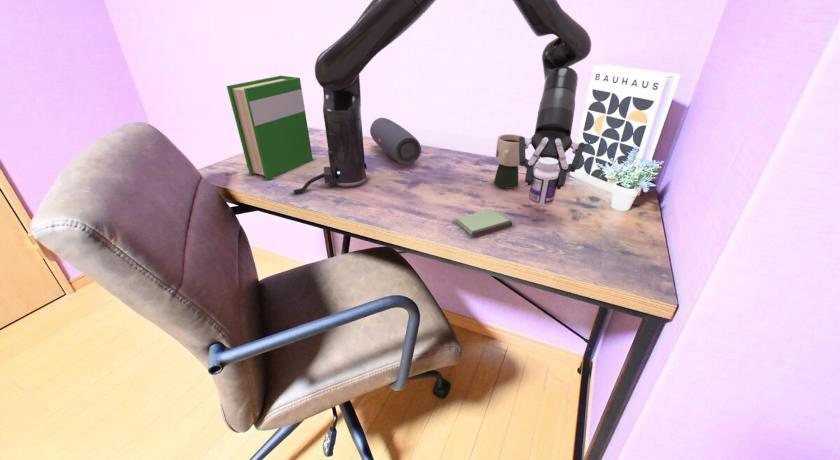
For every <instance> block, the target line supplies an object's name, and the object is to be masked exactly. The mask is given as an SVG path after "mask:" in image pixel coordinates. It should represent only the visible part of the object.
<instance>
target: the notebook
mask: <svg viewBox="0 0 840 460" xmlns="http://www.w3.org/2000/svg"><path fill="white" fill-rule="evenodd" d="M455 222H456V224H458V225H459V226H460V227H461V228H462V229H463V230H464V231H465V232H467V234H469V235H470V236H471V237H472V238H476V237H477V238H478V237H481V236H484V235H487V234H491V233H494V232H498V231H501V230H505V229H508V228H511V227H512V226H513V221H512V220H510V219H509V218H508V217H506V216H504V215H503V214H502V213H501V212H499V211H497V210H496V209H495V208H489V209H486V210H482V211H478V212H474V213H470V214H466V215H462V216H458V217H456V221H455Z"/></svg>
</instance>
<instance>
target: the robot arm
mask: <svg viewBox="0 0 840 460" xmlns="http://www.w3.org/2000/svg"><path fill="white" fill-rule="evenodd" d="M436 1H437V0H372V1H370V3H368V5H367V7H366V8H365V9H364V10H363V12H362V13H361V15H360V16H359V17H358V19H357V20H356V21H355V23H354V24H353V25H352V26H351V27H350V28H349V29H348V30H347V31H346V32H345V33H344V34H343V35H342V36H341V37H339V39H337V40H336V41H335V42H334V43H332V44H331V45H330V46H329V47H327V48H326V49H324V50H323V51H322V52H320V53H319V55H318V56H317V58H316V60H315V63H314V76H315V79H316V81H317V83H318V84H319V86H320V87H322V91H323V104H322V115H323V121H324V127H325V128H324V129H325V136H326V143H327V154H328V161H329V166H324V167H323V173H321V174H319V175H317V176H314V177H312V178H311V179H309V180H308V181H306V182H305V183H304V185H303V186H302V187H301V188H298V189H293V193H294V195H295V194H301V193H304V192H305V191H306V190H307V189H308V188H309V186H310V185H312V184H313V183H314V182H316V181H319V180H321V179H323V178H324V184H331V185H332V186H333V187H341V188H352V187H357V186H360V185H363V184H364V183H366V181H367V168H368V167H367V163H366V161H365V160H366V158H365V147H364V136H363V135H364V134H363V123H362V107H361V106H362V96H361V80H360V79H361V78H360V74H361V73H362V72H363V70H364V69H365V68H366V67H367V65H368V64H369V63H370V62H371V61H372V60H373V59H374V58H375V57H376V56H377V55H378V54H379V53H380V52H382V50H384V49H385V48H387V47H388V46H389V45H391V44H392V43H393V42H394V41H396V40H397V39H399V37H401V36H402V35H403V34H404V33H405V32H406V31H407V30H409V29H410V28H411V27H412V26H413V25H414V24H415V23H416V22H417V21H418V20H419V19H420V18H421V17H423V15H424V14H425V13H426V12H428V10H430V8H431V6H433V4H435V2H436ZM512 2H513V3H514V5H515V7H516V8H517V10H518V11H519V13H520V15H521V16H522V17H523V19H524V20H525V22H526V23H527V25H528V27H529V28H530V30H531V31H532V33H533V35H535V36H536V37H541V38H542V37H545V36H549V35H553V36H556V38H554V39H553V40H551V41H549V42H548V43H547V44H546V45H545V47H544V49H543V51H542V54H541V63H542V69H543V76H544V78H543V79H544V84H543V89H542V96H541V99H540V102H539V107H538V110H537V117H536V124H535V127H534V128H535V129H534V134H533V135H532V137H529V138H526V137H525V136H522V137H520V138H519V164H520V165H519V166H520V167H524V168H525V169H526V171H525V177H524V183H526V184H527V186H530V187H531V181H532V175H533V171H534V169H535V166H536V164H538V161H539V159H540V158H543V157H549V158H554V159H556V160H558V168H559V171H558V172H559V178H558V183H557V188H556V190H561V188H564V187H565V185H566V181H567V174H568V173H570V172H571V173H574V172H576V170H577V168H578V166H579V163H580V160H581V157H582V154H583V153H584V150H585V147H586V143H585V142H580V143H577V142H575V141H574V142H573V140H572V131H573V122H574V116H575V110H576V95H577V87H578V82H579V81H578V80H579V77H578V73H577V71H576V70H575V69H573V68H571V66H573V65H575V64H577V63H579V62H581V61H583V60H585V59H586V58H587V57H588V56H589V55H590V53H591V51H592V39H591V36H590V35H589V33H588V31H587V30H586V29H585V28H584V27H583V25H581V24H579V22H577V21H576V20H575V19H574V18H572V16H570V14H568V13H567V12H566V11H565V10H563V8H562V7H561V5H560V3H559V2H558V0H512ZM524 137H525V138H526V139H525V138H524ZM530 145H531V146H532V148H533V149H534V152H533V153H532V155H531V157H530V158H529V159H527V158H526V150H527V149H529V146H530ZM570 149H571V150H572V151H571V153H572V154H574V156H573V159H572V162H571V163H568V162H567V157H566V152H567V151H568V150H570Z"/></svg>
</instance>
